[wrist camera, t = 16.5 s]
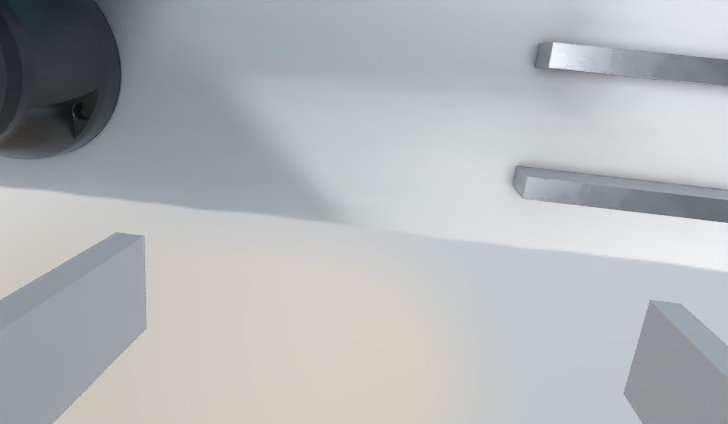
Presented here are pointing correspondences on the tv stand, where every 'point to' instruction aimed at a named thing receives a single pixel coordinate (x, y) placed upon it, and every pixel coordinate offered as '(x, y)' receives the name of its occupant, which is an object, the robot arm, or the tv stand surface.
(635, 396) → the robot arm
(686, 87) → the tv stand surface
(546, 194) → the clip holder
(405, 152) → the tv stand surface
